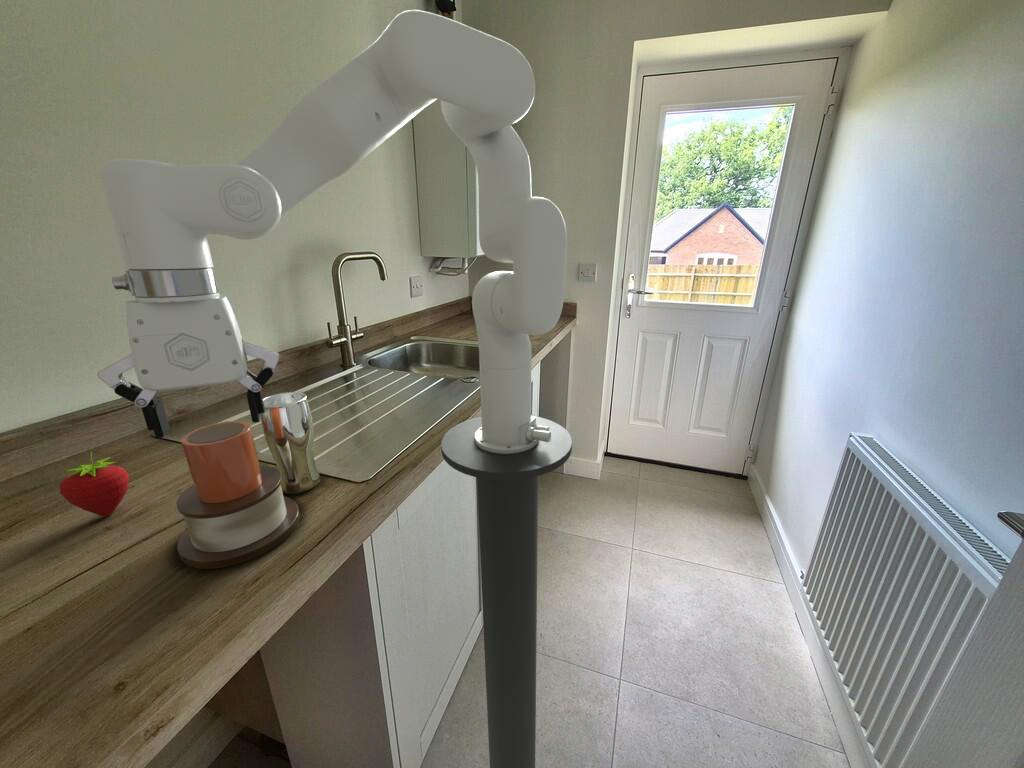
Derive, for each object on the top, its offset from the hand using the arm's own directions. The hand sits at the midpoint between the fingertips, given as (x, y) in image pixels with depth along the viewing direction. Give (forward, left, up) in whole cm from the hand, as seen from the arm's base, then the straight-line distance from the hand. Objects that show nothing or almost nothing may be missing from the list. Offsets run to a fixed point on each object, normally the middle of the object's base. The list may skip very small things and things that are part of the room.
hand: (212, 426), depth 51 cm
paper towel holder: (0, 0, -16) cm, 16 cm away
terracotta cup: (0, 0, -9) cm, 9 cm away
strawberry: (+22, +6, -16) cm, 28 cm away
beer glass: (+3, -12, -16) cm, 20 cm away
